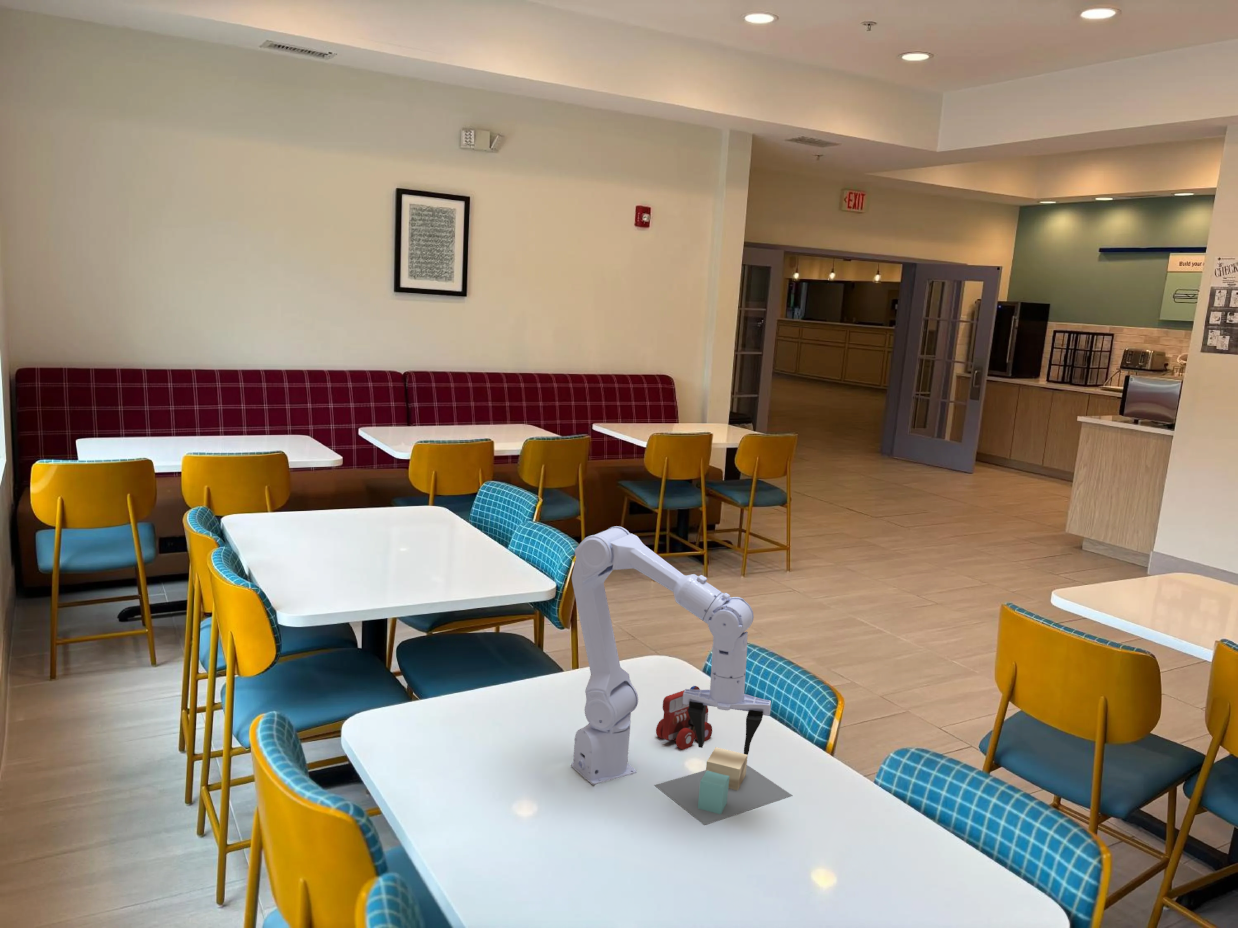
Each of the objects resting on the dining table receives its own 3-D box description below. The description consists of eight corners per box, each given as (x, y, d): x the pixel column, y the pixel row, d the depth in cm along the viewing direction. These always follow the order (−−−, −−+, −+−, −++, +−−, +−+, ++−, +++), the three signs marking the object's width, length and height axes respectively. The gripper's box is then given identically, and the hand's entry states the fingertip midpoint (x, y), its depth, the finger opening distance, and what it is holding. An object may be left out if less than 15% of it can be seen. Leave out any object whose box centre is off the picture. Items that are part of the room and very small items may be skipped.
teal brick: (720, 814, 156) (723, 786, 155) (697, 808, 158) (700, 780, 157) (726, 802, 160) (729, 775, 159) (704, 796, 161) (706, 770, 160)
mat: (704, 827, 153) (704, 824, 153) (653, 787, 164) (654, 784, 164) (792, 797, 164) (792, 795, 164) (739, 761, 175) (740, 759, 175)
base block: (737, 790, 164) (739, 769, 164) (704, 781, 166) (706, 761, 166) (745, 774, 170) (747, 754, 169) (713, 767, 172) (715, 746, 171)
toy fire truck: (718, 737, 185) (722, 688, 183) (674, 755, 176) (679, 704, 174) (692, 724, 190) (696, 676, 188) (648, 741, 181) (653, 691, 179)
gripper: (680, 674, 153) (677, 752, 156) (769, 686, 150) (764, 765, 152) (688, 659, 160) (684, 734, 162) (773, 670, 157) (768, 746, 159)
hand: (723, 748), depth 158 cm, fingers open, 7 cm apart
